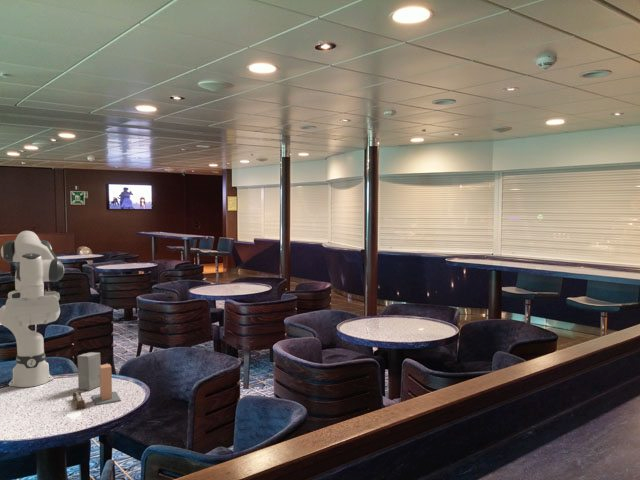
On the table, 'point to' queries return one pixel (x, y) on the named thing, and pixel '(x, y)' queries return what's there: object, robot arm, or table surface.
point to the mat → (99, 401)
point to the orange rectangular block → (105, 382)
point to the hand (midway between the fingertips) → (33, 324)
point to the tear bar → (78, 400)
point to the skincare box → (89, 371)
